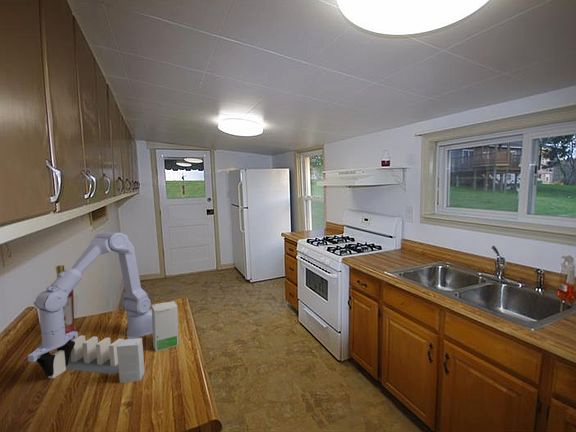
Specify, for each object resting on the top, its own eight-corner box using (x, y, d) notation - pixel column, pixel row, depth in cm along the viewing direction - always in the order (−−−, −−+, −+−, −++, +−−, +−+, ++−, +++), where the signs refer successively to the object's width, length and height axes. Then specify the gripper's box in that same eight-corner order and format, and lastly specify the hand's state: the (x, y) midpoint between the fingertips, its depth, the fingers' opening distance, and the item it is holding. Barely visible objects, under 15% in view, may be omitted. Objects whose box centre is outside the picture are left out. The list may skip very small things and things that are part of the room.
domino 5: (110, 365, 96) (109, 345, 95) (120, 358, 100) (119, 338, 99) (114, 366, 95) (113, 345, 95) (124, 358, 100) (123, 338, 99)
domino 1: (48, 379, 90) (46, 358, 89) (61, 370, 94) (60, 350, 94) (53, 380, 90) (51, 358, 89) (66, 371, 94) (64, 350, 93)
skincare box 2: (155, 353, 104) (152, 311, 102) (152, 344, 109) (150, 304, 108) (179, 346, 108) (177, 305, 107) (176, 338, 114) (174, 299, 112)
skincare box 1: (145, 373, 92) (142, 337, 91) (140, 382, 88) (138, 344, 87) (124, 375, 91) (121, 339, 90) (119, 384, 87) (116, 346, 86)
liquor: (52, 340, 114) (46, 269, 111) (56, 332, 120) (49, 265, 117) (75, 335, 117) (69, 267, 114) (78, 327, 124) (72, 263, 121)
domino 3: (84, 362, 97) (82, 343, 97) (95, 355, 102) (93, 336, 101) (88, 363, 97) (86, 343, 96) (99, 355, 101) (97, 336, 101)
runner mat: (39, 367, 96) (39, 366, 96) (72, 347, 108) (72, 346, 108) (114, 375, 91) (114, 374, 91) (140, 354, 103) (140, 353, 103)
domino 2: (71, 361, 98) (69, 341, 98) (82, 354, 103) (81, 335, 102) (75, 362, 98) (73, 342, 97) (86, 354, 102) (85, 335, 102)
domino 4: (97, 364, 97) (95, 344, 96) (107, 356, 101) (106, 337, 100) (101, 364, 96) (99, 344, 96) (111, 357, 101) (110, 337, 100)
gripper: (63, 317, 98) (67, 355, 100) (17, 339, 84) (22, 384, 85) (81, 319, 97) (85, 357, 98) (37, 341, 83) (42, 386, 84)
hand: (57, 370), depth 92 cm, fingers closed on domino 1, 4 cm apart
